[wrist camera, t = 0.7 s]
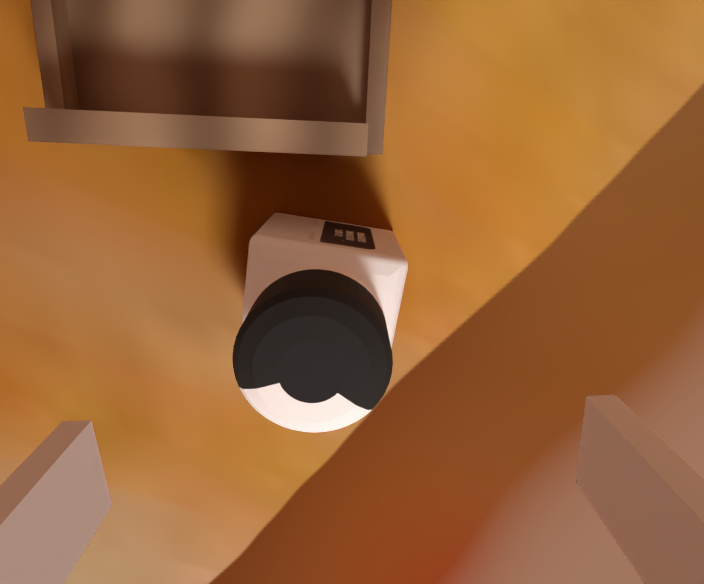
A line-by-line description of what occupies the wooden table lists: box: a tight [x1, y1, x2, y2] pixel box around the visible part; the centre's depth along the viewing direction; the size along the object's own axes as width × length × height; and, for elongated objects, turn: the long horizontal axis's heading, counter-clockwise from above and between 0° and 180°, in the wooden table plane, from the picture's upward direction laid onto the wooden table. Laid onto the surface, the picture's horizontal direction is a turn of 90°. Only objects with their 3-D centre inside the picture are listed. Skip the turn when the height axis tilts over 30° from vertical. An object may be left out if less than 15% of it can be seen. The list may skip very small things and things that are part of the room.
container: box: [233, 213, 408, 432], centre depth 25 cm, size 8×8×13 cm
